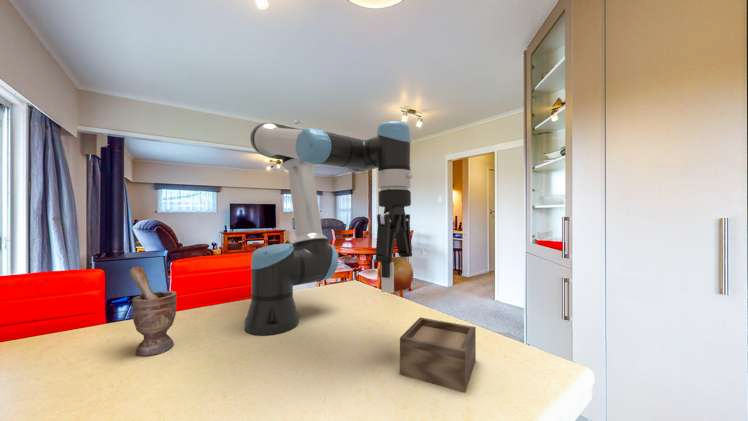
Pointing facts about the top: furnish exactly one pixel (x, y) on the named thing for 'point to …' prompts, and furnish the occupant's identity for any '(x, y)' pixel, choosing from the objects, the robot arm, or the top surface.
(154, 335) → the mortar and pestle
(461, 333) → the open wooden box
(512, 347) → the top surface
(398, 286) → the fruit
